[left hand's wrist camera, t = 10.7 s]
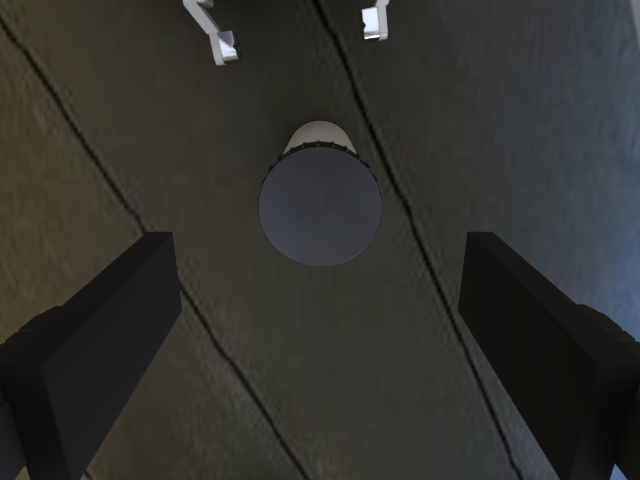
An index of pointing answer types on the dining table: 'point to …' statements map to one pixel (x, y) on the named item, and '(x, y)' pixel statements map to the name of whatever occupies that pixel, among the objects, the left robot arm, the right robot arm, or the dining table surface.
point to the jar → (319, 135)
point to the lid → (319, 204)
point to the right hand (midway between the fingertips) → (301, 52)
